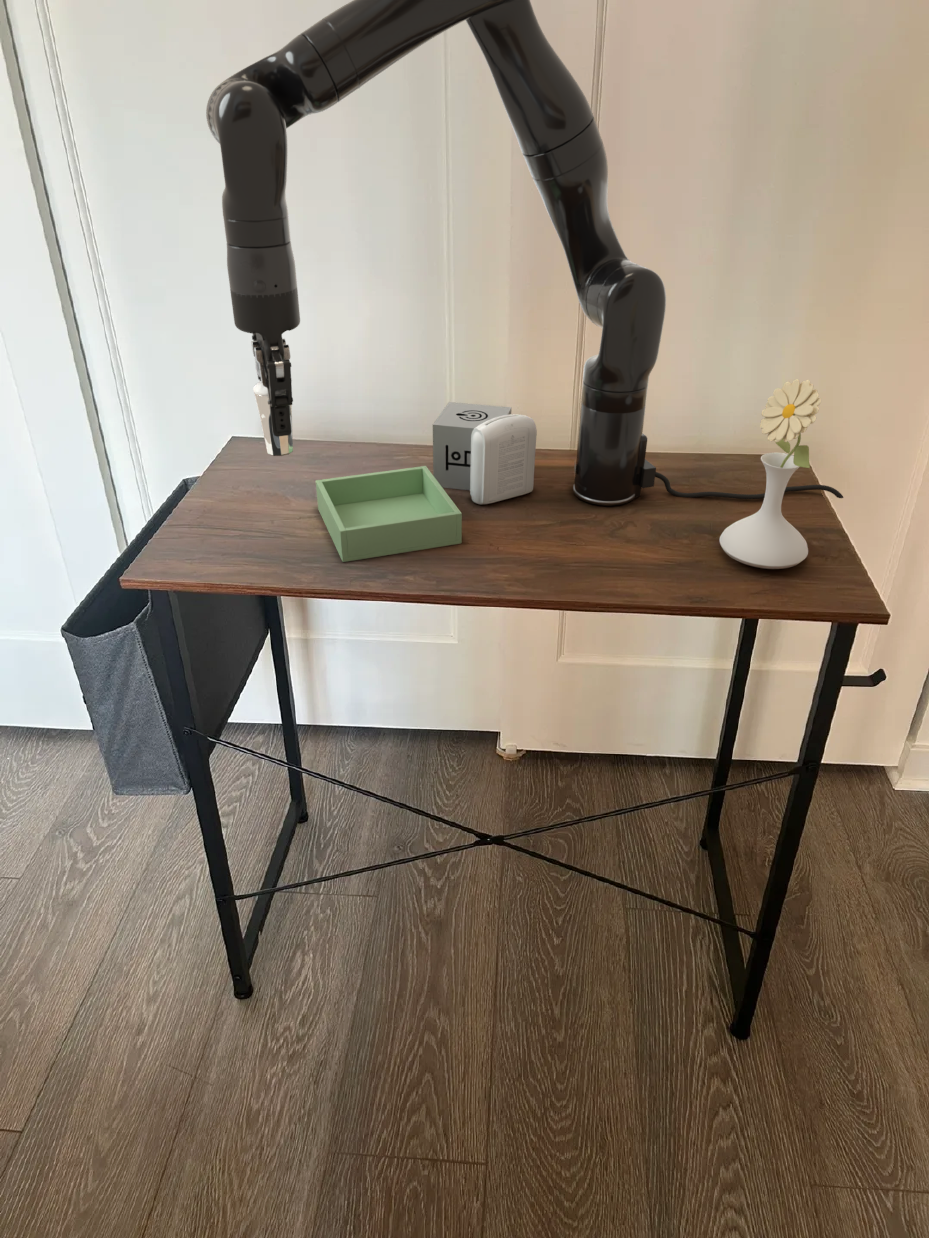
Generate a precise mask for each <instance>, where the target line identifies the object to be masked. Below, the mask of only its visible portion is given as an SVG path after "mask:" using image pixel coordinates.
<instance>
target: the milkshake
mask: <svg viewBox="0 0 929 1238" xmlns="http://www.w3.org/2000/svg"><path fill="white" fill-rule="evenodd" d="M268 380H269V379H268ZM252 391H253V395H254V399H255V404H256V407H257V412H258V415H259V419H260V424H261V430H262V434H263V439H264V445H265V448H266V449H265V450H266V453H267V455H270V456H273V457H283V456H287V455H291V453H293V452H294V444H293V442H294V441H293V440H294V439H293V414H292V412H293V404H292V405H289V411H290V421H291V430H292V432H291V434H290V435H287V436H275V435H274V434H273V431H272V422H271V413H270V407H269V404H268V401H267V400H268V395H267V389H266V387H264V386H263V385H262V383H261V381H258V382H257V383H255V385H254V386H253V388H252ZM280 395H284V390H278V391H275V396H280Z"/></svg>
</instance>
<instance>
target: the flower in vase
mask: <svg viewBox="0 0 929 1238" xmlns="http://www.w3.org/2000/svg"><path fill="white" fill-rule="evenodd" d="M772 393H773V395H770V396H769V397H768V398H767V402H766V403H765V408H764V409H762V411H761V416H762V417H763V418H762V419H761V420H760V424H759V427H760V429H761V433H762V434H763V435H767V437H766V438H767V442H769V443H770V442H774V443H775V444H776V445H777V446H778V447H779V448H780V449H781V450H782V451H784V452H776V451H775V452H767V453H764V454H762V455H761V456H760V461H761V462H762V464H763V467H764V469H765V470H764V471H765V475H766V477H765V478H766V484H765V492H764V493H765V497H764V498H763V501H762V503H761V504H762V505H761V507H760V508H759V510H757V511H756V512H755V513H753V514H751V515H749V516H745V517H743V518H741V519H739V520H736V521H735V522H733V523H731V524H730V525H729V526H727V527H725V529H724V530H723V531H722V533H721V534H720V535H719V544H720V546H721V549H722V550H723V552H724V553H725V554H726V555H727V556H729V558H731V559H733V560H735V561H737V562H739V563H741V564H743V565H747V566H750V567H754V568H760V569H765V570H766V569H767V570H780V569H782V570H783V569H789V568H792V567H795V566H797V565H799V564H801V563H802V562H803V561H804V560H805V559H806V558H807V557H808V555H809V548H808V547H809V546H808V543H807V541H806V539H805V538H804V537H803V534H801V532H800V531H799V530H798V529H797V528H796V527H794V526H793V525H792V524H791V523H790V522H789V521H787V519H786V518H785V517H784V516H783V513H782V503H783V498H784V495H785V492H784V491H785V488H786V487H788V483H789V481H790V479H791V477H792V476H793V474H794V473H795V472H796V471H797V470H798V469H799V468H804V469H805V468H806V469H810V468H811V465H810V448H809V445H807V444H802V445H801V444H800V443H801V439H802V434H803V433H805V432H806V431H807V430H808V428H809V427H810V425H813V424H814V423H815V422H816V420H817V416H816V414H818V413H819V411H820V408H819V406H820V405H821V403H822V398H821V397H820V394H819V392H818V389H817V388H816V389H815V388H814V383H811V381H810V379H806V380H803V381H802V382H800V379H798V378H796V379H794V380H792V382H790V381H786V382H784V383H783V386H782V387H781V388H780V387H776V388H775V389H774V390H773V392H772ZM801 433H802V434H801ZM796 439H797V440H796ZM793 440H796V441H797V442H796V443H795V445H794V446H793V448H792V449H791V444H790V442H792V441H793Z"/></svg>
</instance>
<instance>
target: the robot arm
mask: <svg viewBox="0 0 929 1238" xmlns="http://www.w3.org/2000/svg"><path fill="white" fill-rule="evenodd" d="M463 22H465V23H466V25H467V26H468V27H469V30H470V32H471V33H472V36H473V38H474V39H475V41H476V43H477V46H478V47H479V49H480V51H481V53H482V55H483V57H484V60H485V62H486V64H487V66H488V68H489V72H490V74H491V77H492V79H493V81H494V85H495V87H496V90H497V92H498V94H499V97H500V100H501V102H502V105H503V108H504V110H505V113H506V115H507V118H508V120H509V122H510V125H511V127H512V130H513V132H514V135H515V137H516V141H517V143H518V146H519V149H520V152H521V154H522V156H523V159H524V162H525V164H526V166H527V169H528V171H529V174H530V176H531V178H532V180H533V183H534V185H535V187H536V189H537V191H538V193H539V195H540V198H541V200H542V203H543V205H544V207H545V210H546V212H547V214H548V217H549V219H550V221H551V223H552V226H553V228H554V230H555V232H556V234H557V237H558V238H559V241H560V244H561V246H562V249H563V251H564V255H565V258H566V261H567V264H568V268H569V272H570V276H571V278H572V282H573V286H574V289H575V293H576V296H577V299H578V302H579V305H580V308H581V310H582V312H583V314H584V316H586V318H587V319H588V321H590V322H591V323H592V324H593V325H595V326H597V327H599V328H600V329H601V337H600V344H599V351H598V354H595V355H592V356H590V357H589V358H587V359H586V360H585V362H584V365H583V371H582V372H583V373H582V384H581V396H580V397H581V398H580V408H579V409H580V410H579V423H578V425H579V426H578V434H577V435H578V436H577V448H576V459H575V462H574V466H573V467H574V469H573V470H574V481H573V482H574V484H573V488H572V490H573V494H574V496H576V497H577V498H578V499H579V500H581V501H583V502H585V503H588V504H591V505H598V506H609V507H610V506H613V507H614V506H620V505H624V504H625V505H626V504H628V503H630V502H631V501H633V500H634V499H635V498H639V497H641V494H642V489H648V488H653V487H654V486H655V480H656V479H659V480H661V481H662V482H663V484H664V487H665V490H666V492H668V493H669V494H670V495H672V496H674V497H678V498H691V499H692V498H693V499H694V498H695V499H696V498H705V497H706V498H708V497H711V498H712V497H714V498H725V499H734V500H762V499H763V500H764V497H765V492H763V493H756V494H755V493H753V494H751V493H750V494H747V493H746V494H744V493H743V494H742V493H731V492H724V491H723V492H722V491H698V492H680V491H678V490H675V489H674V488H672V487H671V483H670V480H669V479H668V477H667V476H665V475H664V474H662V473H660V472H657V467H656V466H655V465H653V463H651V462H650V461H648V460H647V459H646V456H647V455H646V454H647V446H648V437H647V436H648V435H646V434H645V433H643V432H644V423H645V415H646V407H647V399H648V398H647V397H648V391H649V381H650V376H651V373H652V371H653V369H654V367H655V366H656V363H657V361H658V357H659V356H658V355H659V352H660V346H661V340H662V335H663V330H664V329H663V328H664V324H665V323H664V322H665V316H666V308H667V292H666V286H665V283H664V281H663V279H662V278H661V276H660V274H658V273H657V272H656V271H654V270H652V269H650V268H648V267H645V266H644V265H641V264H638V263H636V262H633V261H631V260H630V259H629V258H628V256H627V255H626V253H625V251H624V249H623V247H622V245H621V243H620V241H619V238H618V236H617V233H616V231H615V229H614V226H613V222H612V219H611V216H610V211H609V203H608V199H609V196H608V195H609V165H608V158H607V153H606V149H605V145H604V142H603V139H602V136H601V134H600V130H599V128H598V125H597V122H596V120H595V117H594V112H593V111H592V107H591V106H590V105H591V104H590V103H589V101H588V99H587V97H586V95H585V93H584V92H583V90H582V89H581V86H580V85H579V84H578V82H577V80H576V79H575V78H574V76H573V75H572V73H571V72H570V70H569V68H567V66H566V64H565V63H564V62H563V60H562V59H561V58H560V56H559V55H558V53H557V52H556V50H554V47H552V45H551V43H550V42H549V40H548V39H547V37H546V35H545V33H544V32H543V30H542V28H541V26H540V24H539V21H538V19H537V15H536V14H535V11H534V8H533V5H532V2H531V0H351V1H348V3H345V4H344V5H342V6H340V7H338V8H337V9H335V10H333V11H332V12H331V13H329V14H328V15H326V16H324V17H323V18H322V19H320V20H319V21H317V22H315V23H314V24H313V25H311V26H310V27H308V28H307V29H305V30H303V31H302V32H300V33H299V34H298V35H296V36H295V37H293V38H292V39H291V40H290V41H289V42H288V43H286V44H285V45H284V46H282V47H281V48H279V50H277V51H275V52H273V53H271V54H269V55H267V56H265V57H263V58H261V59H260V60H258V61H255V62H254V63H252V64H249V65H248V66H246V67H245V68H243V69H241V70H239V71H237V72H236V73H234V74H233V75H231V76H229V77H228V78H226V79H224V80H223V81H221V82H220V83H219V84H218V85H217V86H216V87H215V88H214V89H213V91H212V92H211V93H210V96H209V97H208V100H207V103H206V110H205V116H206V122H207V127H208V129H209V132H210V133H211V135H212V137H213V138H214V140H215V141H216V142H217V143H218V144H219V146H220V153H221V162H222V171H223V178H224V189H223V191H222V195H221V208H222V219H223V227H224V234H225V242H226V268H227V276H228V282H229V284H228V285H229V291H230V299H231V300H230V301H231V305H232V306H231V307H232V313H233V315H232V316H233V321H234V326H235V327H236V329H238V330H239V331H241V332H243V333H248V334H252V335H251V340H252V341H251V342H250V343H251V351H252V354H253V357H254V365H255V371H256V374H257V379H258V382H260V381H261V383H262V385H263V386H264V387H266V389H267V395H268V400H267V401H268V404H269V407H270V413H271V422H272V431H273V434H274V435H275V436H287V435H290V434H291V432H292V433H293V429H292V430H291V421H290V411H289V405H292V406H293V402H294V398H293V388H292V381H293V380H292V362H291V361H290V360H291V351H290V345H289V343H288V344H287V342H286V338H285V337H284V338H283V334H284V333H285V332H287V331H293V330H295V329H297V327H299V326H300V324H301V313H300V304H299V303H300V302H299V293H298V280H297V270H296V269H297V268H296V260H295V256H294V251H293V247H292V241H291V240H292V239H291V228H290V218H289V209H288V203H287V202H288V201H287V181H288V179H287V178H288V131H287V129H288V128H290V127H291V126H293V125H295V124H296V123H297V122H300V120H302V119H304V118H305V117H309V116H310V115H316V114H320V113H324V112H325V111H327V110H329V109H331V108H332V107H334V106H336V105H338V103H340V102H342V101H343V100H345V99H346V98H347V97H349V96H350V95H352V94H353V93H355V92H357V91H358V90H360V89H361V88H362V87H364V86H365V85H366V84H368V83H369V82H371V81H372V80H374V79H375V78H376V77H378V76H380V75H381V74H383V73H384V72H386V71H387V70H388V69H389V68H391V67H392V66H393V65H396V64H397V63H398V62H400V61H401V60H402V59H404V58H405V57H406V56H408V55H410V54H411V53H412V52H414V51H415V50H416V49H418V48H420V47H421V46H423V45H424V44H426V43H427V42H429V41H431V40H432V39H434V38H435V37H438V36H439V35H441V34H443V33H444V32H446V31H448V30H450V29H451V28H454V27H455V26H457V25H459V24H461V23H463ZM268 379H269V380H268ZM278 390H284V395H280V396H275V391H278ZM803 491H826V492H829V493H831V494H832V495H834V496H835V497H836V498H838V499H844V496H843V494H842V493H841V492H840V491H839V490H837V489H836V488H834V487H832V486H829V485H825V484H807V485H806V484H805V485H795V486H786V488H785V491H784V493H790V492H803Z"/></svg>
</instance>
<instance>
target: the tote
mask: <svg viewBox="0 0 929 1238" xmlns="http://www.w3.org/2000/svg"><path fill="white" fill-rule="evenodd" d="M315 490H316V502H317V510H318V512H319V514H320V516H321V518H322V520H323V523H324V525H325V527H326V530H327V531H328V534H329V536H330V538H331V540H332V542H333V545H334V546H335V549H336V551H337V553H338V555H339V557H340V559H341V562H342V563H347V562H353V561H359V560H366V559H372V558H378V557H386V556H391V555H397V554H398V555H399V554H403V553H410V552H416V551H423V550H428V549H435V548H440V547H441V548H443V547H447V546H453V545H461V544H462V543H463V540H462V539H463V534H462V533H463V513H462V512H461V510H460V509H459V508H458V507H457V505H456V504H455V502H454V501H453V500H452V498H451V497H450V496H449V494H448V493H447V491H446V490H445V488H442V486H441V485H440V484H439V483H438V481H437V480H436V479H435V477H434V476H433V472H431V470H430V469H429V468H428V467H427V465H421V466H415V467H407V468H399V469H392V470H384V471H376V472H368V473H360V474H354V475H347V476H346V475H345V476H338V477H331V478H324V479H316V480H315Z"/></svg>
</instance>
